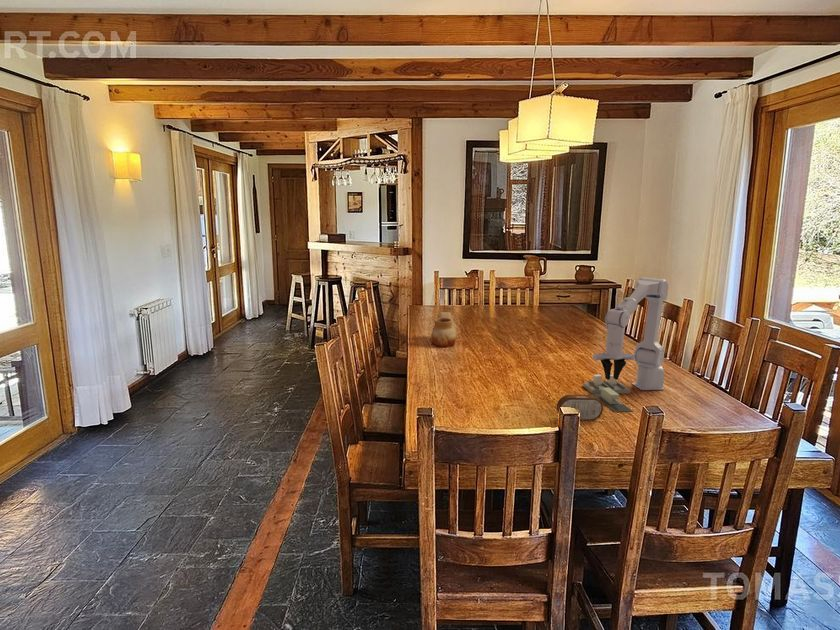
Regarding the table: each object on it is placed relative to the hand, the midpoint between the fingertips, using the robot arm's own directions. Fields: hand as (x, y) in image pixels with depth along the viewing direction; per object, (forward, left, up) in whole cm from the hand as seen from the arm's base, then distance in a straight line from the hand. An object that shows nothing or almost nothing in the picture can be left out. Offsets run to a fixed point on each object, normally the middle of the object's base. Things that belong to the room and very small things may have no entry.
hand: (611, 378), depth 188 cm
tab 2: (-7, -14, -7) cm, 18 cm away
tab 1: (-1, -14, -7) cm, 16 cm away
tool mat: (0, +2, -8) cm, 9 cm away
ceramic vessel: (+49, -92, -9) cm, 104 cm away
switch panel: (-4, -12, -8) cm, 16 cm away
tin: (+18, +17, -9) cm, 26 cm away
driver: (0, +2, -8) cm, 9 cm away
